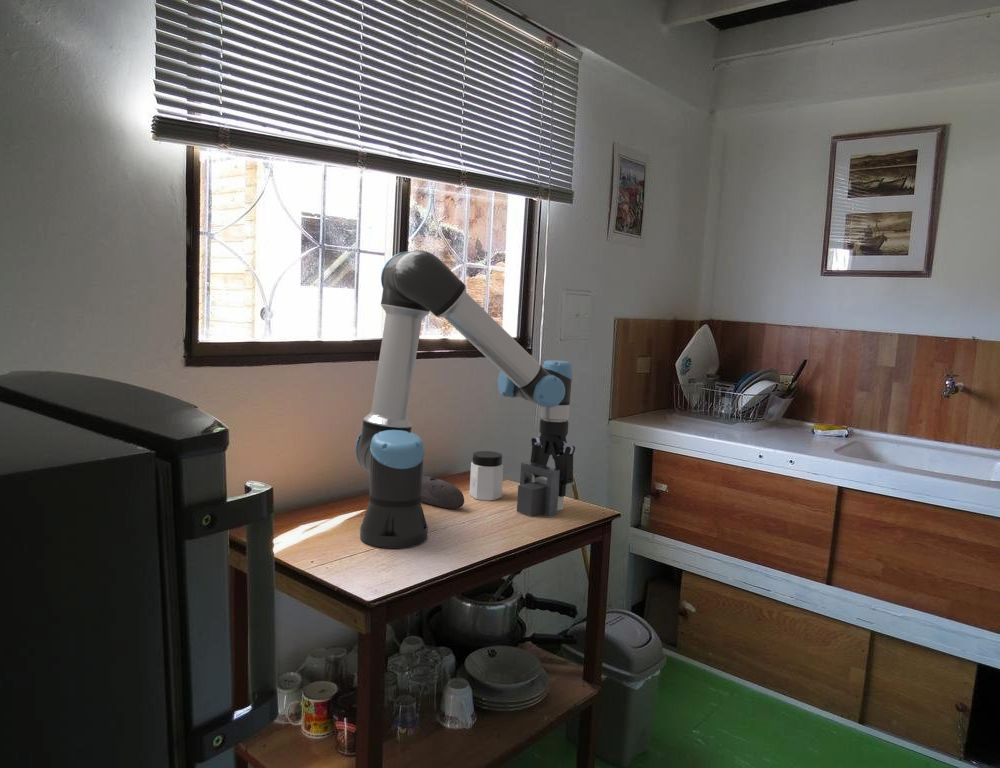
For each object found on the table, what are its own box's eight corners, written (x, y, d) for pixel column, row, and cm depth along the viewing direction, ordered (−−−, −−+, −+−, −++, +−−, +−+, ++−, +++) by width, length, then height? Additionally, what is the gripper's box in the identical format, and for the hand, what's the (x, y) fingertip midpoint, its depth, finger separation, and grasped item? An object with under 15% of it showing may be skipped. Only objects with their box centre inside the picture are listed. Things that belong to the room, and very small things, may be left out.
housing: (549, 517, 181) (552, 471, 180) (518, 506, 189) (521, 462, 188) (556, 515, 183) (559, 469, 182) (526, 504, 191) (529, 461, 190)
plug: (531, 516, 180) (533, 486, 179) (515, 510, 185) (517, 481, 184) (566, 508, 190) (568, 479, 189) (550, 502, 194) (552, 474, 193)
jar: (465, 493, 199) (467, 451, 197) (490, 490, 203) (493, 449, 201) (479, 502, 191) (481, 458, 190) (505, 499, 195) (508, 456, 193)
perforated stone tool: (469, 510, 184) (470, 484, 183) (456, 514, 180) (457, 487, 179) (425, 498, 192) (426, 473, 191) (412, 502, 188) (413, 476, 187)
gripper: (591, 424, 182) (585, 511, 185) (537, 412, 196) (532, 494, 198) (572, 426, 177) (566, 516, 180) (518, 414, 190) (513, 498, 193)
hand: (548, 504), depth 189 cm, fingers closed on plug, 6 cm apart
